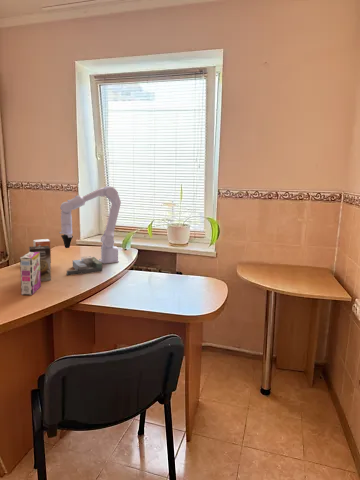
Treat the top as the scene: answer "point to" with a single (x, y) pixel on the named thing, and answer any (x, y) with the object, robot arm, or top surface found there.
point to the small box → (42, 244)
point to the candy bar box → (30, 273)
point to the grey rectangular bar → (79, 265)
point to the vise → (96, 268)
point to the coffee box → (43, 261)
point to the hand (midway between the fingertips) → (67, 247)
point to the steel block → (87, 261)
